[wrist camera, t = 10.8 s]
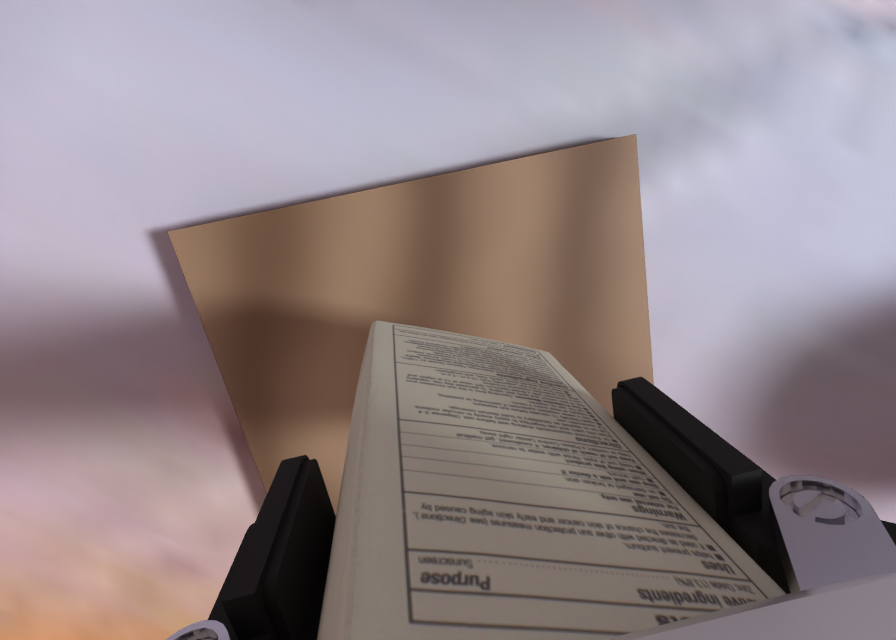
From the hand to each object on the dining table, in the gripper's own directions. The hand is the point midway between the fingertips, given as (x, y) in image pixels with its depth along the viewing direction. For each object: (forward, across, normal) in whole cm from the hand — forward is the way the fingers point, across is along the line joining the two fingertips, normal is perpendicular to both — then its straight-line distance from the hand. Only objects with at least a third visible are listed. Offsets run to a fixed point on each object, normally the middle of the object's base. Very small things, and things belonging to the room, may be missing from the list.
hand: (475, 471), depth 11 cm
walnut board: (+10, 0, 0) cm, 10 cm away
